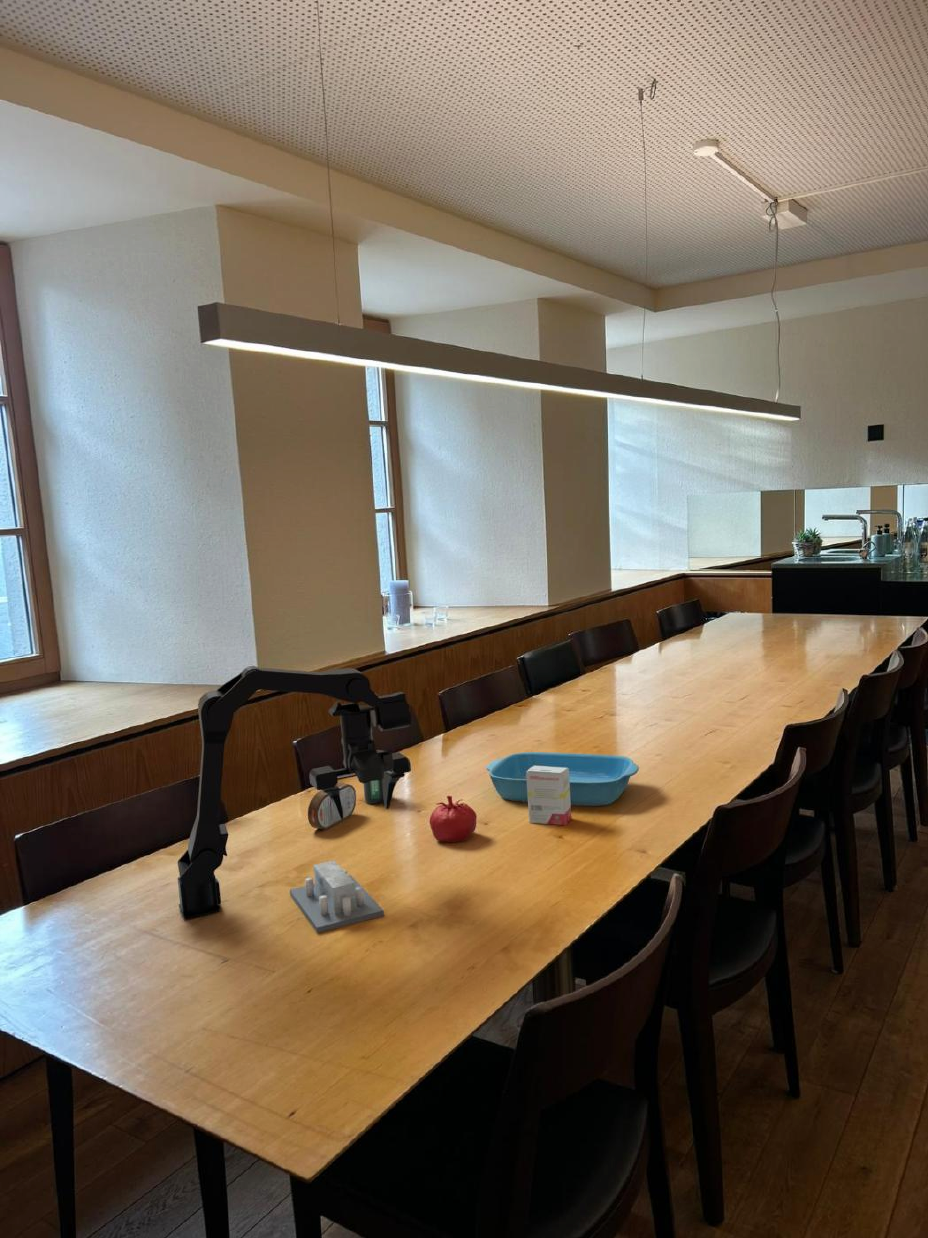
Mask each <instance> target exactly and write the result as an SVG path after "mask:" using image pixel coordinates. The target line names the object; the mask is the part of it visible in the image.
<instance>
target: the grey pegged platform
mask: <svg viewBox="0 0 928 1238" xmlns="http://www.w3.org/2000/svg"><path fill="white" fill-rule="evenodd" d="M343 870H344V872H345V873H346V874H347V875H348V876H349V877H350V878H351V879H352V880H353V881H354V882H355V891H356V904H357V910H355V911H351V900H350V897H344V898H342V902H343V914H339V915H334V913H333V912H332V911H331V910H330V908H329V907H328V900H327V896H325V895H323V896H319V895H318V893H317V892H316V890H315V883H314V877H313V878H312V877H307V878H305V879H304V883H305V885H303V886H299V887H295V888H291V889H289V895H290V897H291V899H292V900H293V901H294V903H295V904H296V905H297V907H298V908H299V909H300V911H301V912H302V914H303V915H304V916H305V918H306V919H307V921H308V922H309V924H310V925H311V927H313V929H314V931H315V932H316V933H317V934H321V933H323V932H327V931H331V930H334V929H338V928H342V927H346V926H349V925H354V924H357V923H362V922H366V921H369V920H372V919H377V918H380V917H383V916H385V911H384V909H383V908H382V907H381V906H380V904H378V902H376V900H375V899H374V898H373V897H372V896H371V895H370V894H369V892H367V890H365V888H364V887H363V886H362V885H361V884H360V883H359V882H358V881H357V880H356V879H355V878H354V877H353V875H352V874H348V869H343Z"/></svg>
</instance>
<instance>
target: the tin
mask: <svg viewBox="0 0 928 1238" xmlns="http://www.w3.org/2000/svg"><path fill="white" fill-rule="evenodd" d="M336 785H337V786H338V787H339V788H340V800H341V805H342V810H343V819H340V817H339V815H338V813H337V811H336V809H335V807H334V805H333V803H332V801H331V799H330V797H329V795H328V794H327V793H324V792H323V791H322V790H319V791H318V792H316V793H315V794H314V795H313V797H312V798H311V800H310V802H309V804H308V808H307V819H308V820H307V821H308V824H309V825H310V826H311V827H312V828H313V829H319V830H328V829H330V828H331V827H333V826H336V825H338V824H339V823H341V822H343V821H345V820H347V819H348V818H350V817H351V815H352V814H353V813H354V811H355V809H356V806H357V793H356V789H355V787H354V786H353V785H351V784H348V783H344V782H338V783H337V784H336Z"/></svg>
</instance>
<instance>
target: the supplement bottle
mask: <svg viewBox="0 0 928 1238" xmlns="http://www.w3.org/2000/svg"><path fill="white" fill-rule="evenodd" d="M376 750H377V753H379V752H384V751H385V750H381V749H376ZM362 785H363V796H364V802H365V803H366V804H367V805H376V806H377V805H383V804H384V798H383V785H382V780H380V781H378V780H375V781H370V782H368V783H362ZM393 796H394V795H392V798H391V801H392V800H393V798H394V797H393Z"/></svg>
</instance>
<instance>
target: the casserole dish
mask: <svg viewBox="0 0 928 1238" xmlns="http://www.w3.org/2000/svg"><path fill="white" fill-rule="evenodd" d="M533 766H548V767H562V768H569V782H570V802H571V806H588V807H596V806H597V807H599V806H600V807H601V806H607V805H610V804H613V803H614V802H615V801H616V800H618V798H619V797H620V796H621V795H622V793H623V792H624V791H625V789H626V788H627V786H628V784H629V781H630V778H631V777H632V776H635V775H636V774H637V773H638V772H639V769H640V767H639V765H638V764H636V763H635V762H634V761H633V759H632V758H629V757H628V756H627V757H626V756H621V755H615V754H614V755H613V754H612V755H610V754H591V753H589V754H588V753H572V752H571V753H569V752H568V753H567V752H565V753H564V752H547V751H546V752H544V751H543V752H541V751H526V752H525V751H524V752H517V753H512V754H509V755H507V756H505V757H502V758H498V759H495V760H493V761H491V762H490V763H489V764H487V766H486V767H485V769H486V770H487V771H488V774H489V778H490V779H491V782H492V785H493V787H494V789H495V791H496V792H497V794H498V795H499V796H500V797H502V798H503V799H505V800H509V801H514V802H523V803H528V794H527V778H526V771H528V770H529V769H530V768H531V767H533Z"/></svg>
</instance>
